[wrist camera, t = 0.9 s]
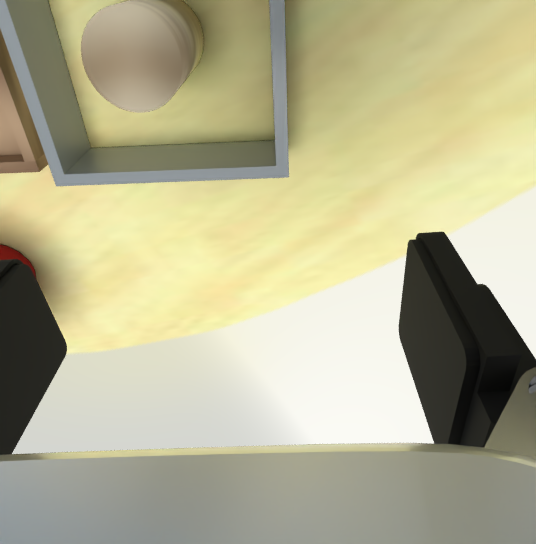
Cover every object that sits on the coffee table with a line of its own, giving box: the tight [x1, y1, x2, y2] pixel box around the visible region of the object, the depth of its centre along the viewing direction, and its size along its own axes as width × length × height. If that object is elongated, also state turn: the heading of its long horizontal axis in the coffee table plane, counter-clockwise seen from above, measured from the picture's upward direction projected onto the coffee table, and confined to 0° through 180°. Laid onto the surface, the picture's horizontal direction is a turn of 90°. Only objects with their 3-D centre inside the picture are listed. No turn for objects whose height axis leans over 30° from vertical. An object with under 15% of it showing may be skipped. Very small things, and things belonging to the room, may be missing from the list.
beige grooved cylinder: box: [81, 0, 204, 112], centre depth 25 cm, size 5×5×8 cm
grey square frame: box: [0, 0, 289, 186], centre depth 27 cm, size 16×16×5 cm
